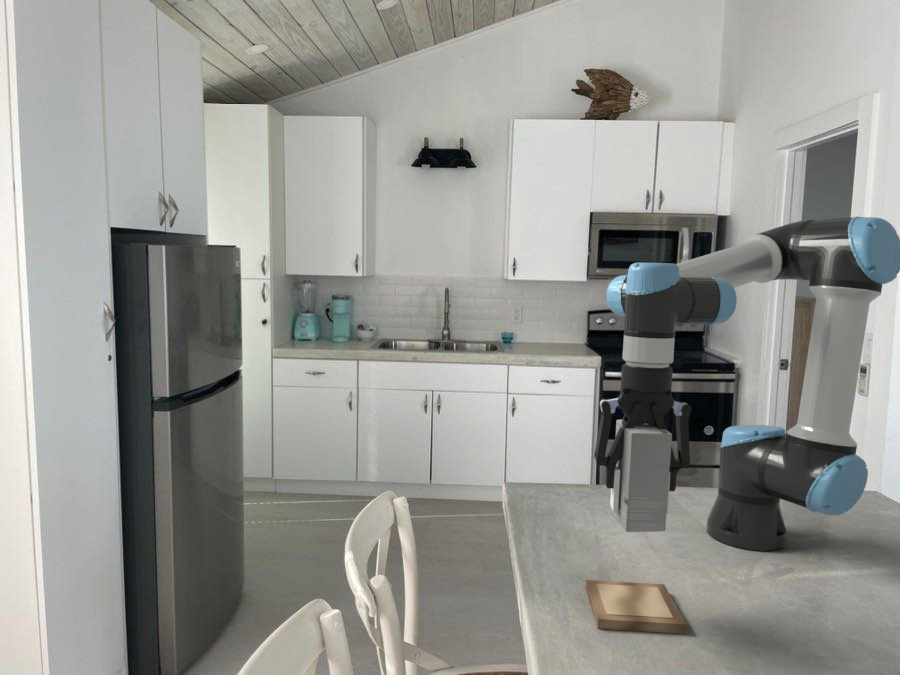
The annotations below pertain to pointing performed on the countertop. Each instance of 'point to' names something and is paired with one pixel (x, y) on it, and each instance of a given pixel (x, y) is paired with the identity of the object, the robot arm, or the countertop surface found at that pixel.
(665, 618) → the tan flat square board
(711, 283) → the robot arm
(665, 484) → the skincare box
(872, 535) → the countertop surface
